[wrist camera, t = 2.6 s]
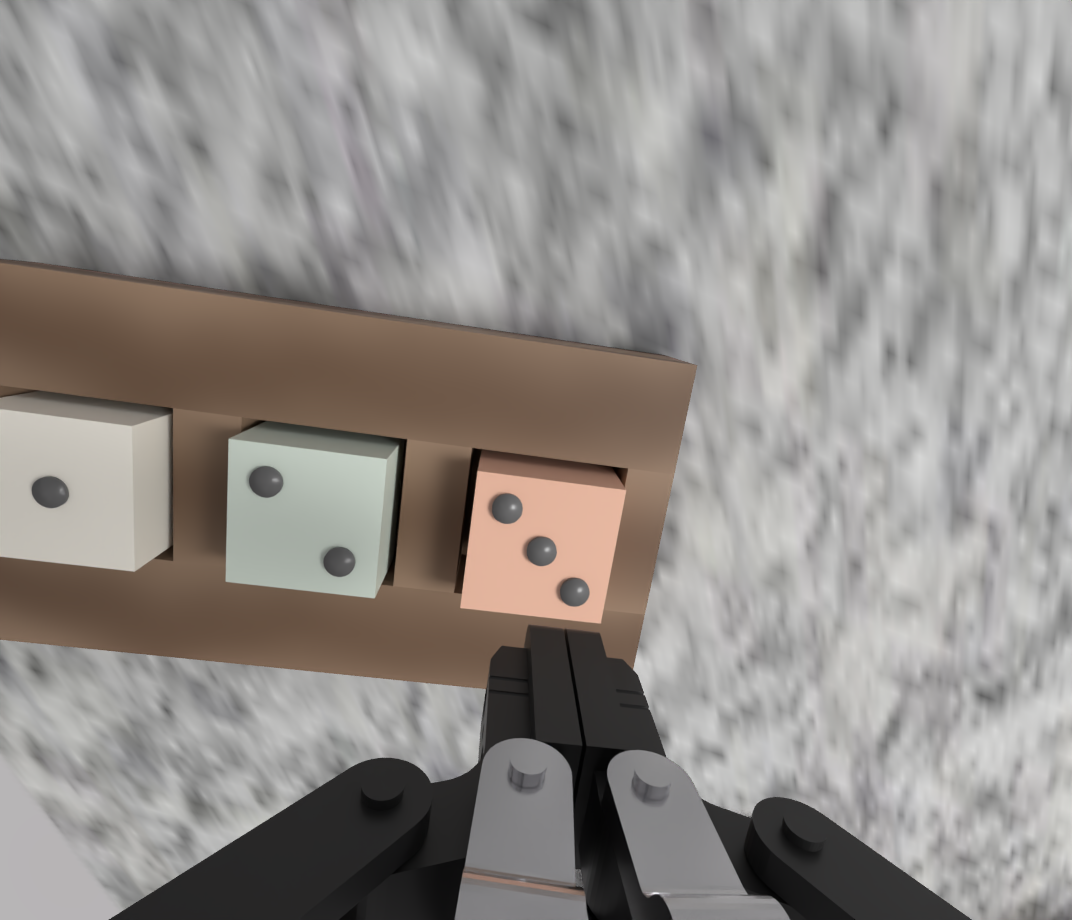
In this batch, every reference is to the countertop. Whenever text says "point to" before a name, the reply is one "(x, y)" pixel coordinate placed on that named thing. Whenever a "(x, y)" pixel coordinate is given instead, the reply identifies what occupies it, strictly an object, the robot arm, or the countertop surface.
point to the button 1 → (85, 480)
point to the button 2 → (312, 508)
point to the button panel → (341, 404)
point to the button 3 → (542, 537)
